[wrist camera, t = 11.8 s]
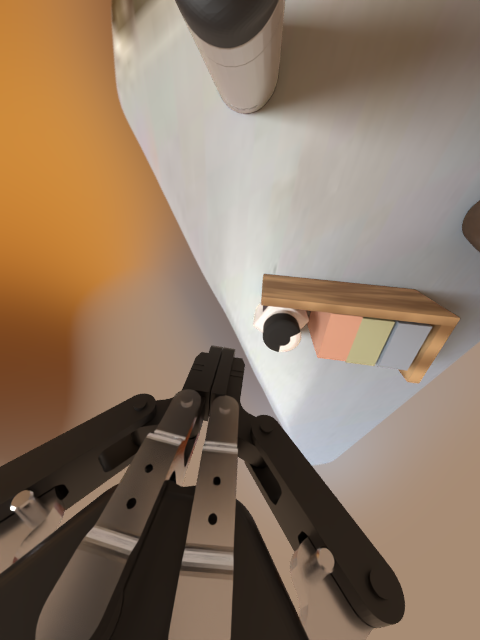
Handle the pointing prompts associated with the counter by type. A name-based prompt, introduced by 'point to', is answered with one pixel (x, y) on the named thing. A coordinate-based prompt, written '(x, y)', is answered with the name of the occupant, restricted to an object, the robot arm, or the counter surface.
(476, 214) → the plant pot
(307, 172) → the counter surface
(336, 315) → the book
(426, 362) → the wooden book rack
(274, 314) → the container
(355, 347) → the book
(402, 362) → the book
